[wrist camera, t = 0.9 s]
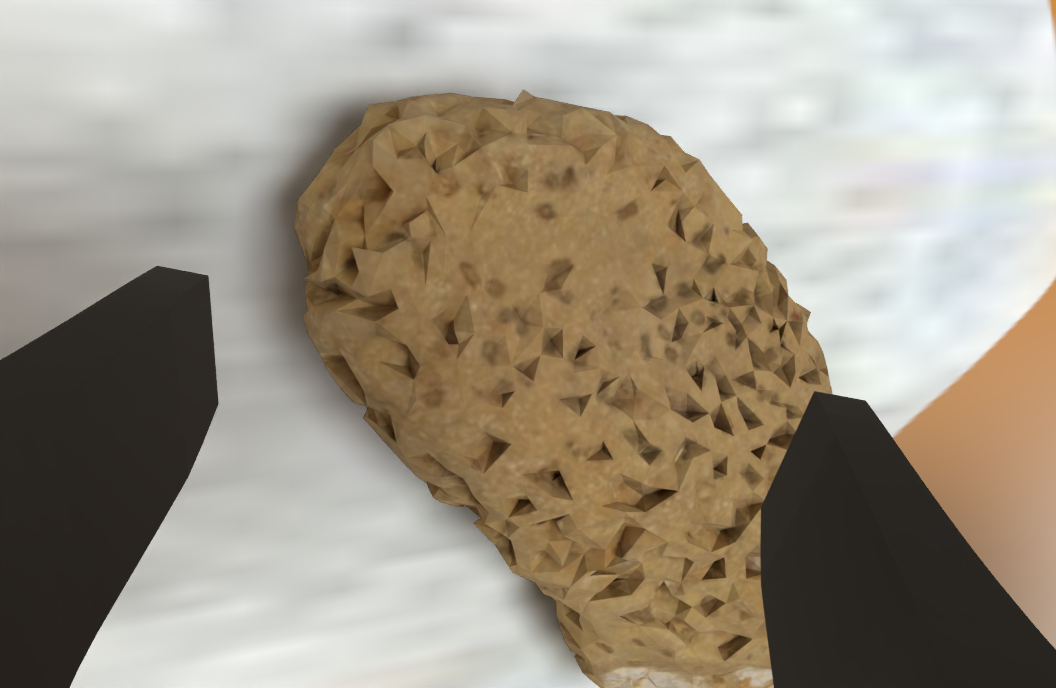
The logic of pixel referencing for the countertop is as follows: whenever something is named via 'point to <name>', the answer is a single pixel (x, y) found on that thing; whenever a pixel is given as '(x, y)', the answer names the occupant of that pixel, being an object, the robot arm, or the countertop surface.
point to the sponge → (570, 363)
